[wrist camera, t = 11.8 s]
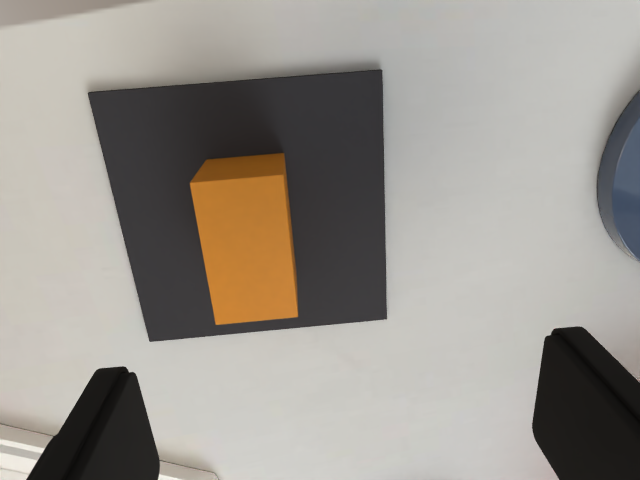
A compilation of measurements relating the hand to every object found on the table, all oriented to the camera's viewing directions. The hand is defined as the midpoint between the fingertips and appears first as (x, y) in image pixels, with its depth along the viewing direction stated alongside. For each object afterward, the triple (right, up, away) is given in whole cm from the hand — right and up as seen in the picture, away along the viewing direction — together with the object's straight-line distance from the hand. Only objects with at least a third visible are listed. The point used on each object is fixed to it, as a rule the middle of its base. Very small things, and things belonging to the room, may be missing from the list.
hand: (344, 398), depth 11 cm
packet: (-5, +5, +18) cm, 19 cm away
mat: (-5, +5, +18) cm, 19 cm away
